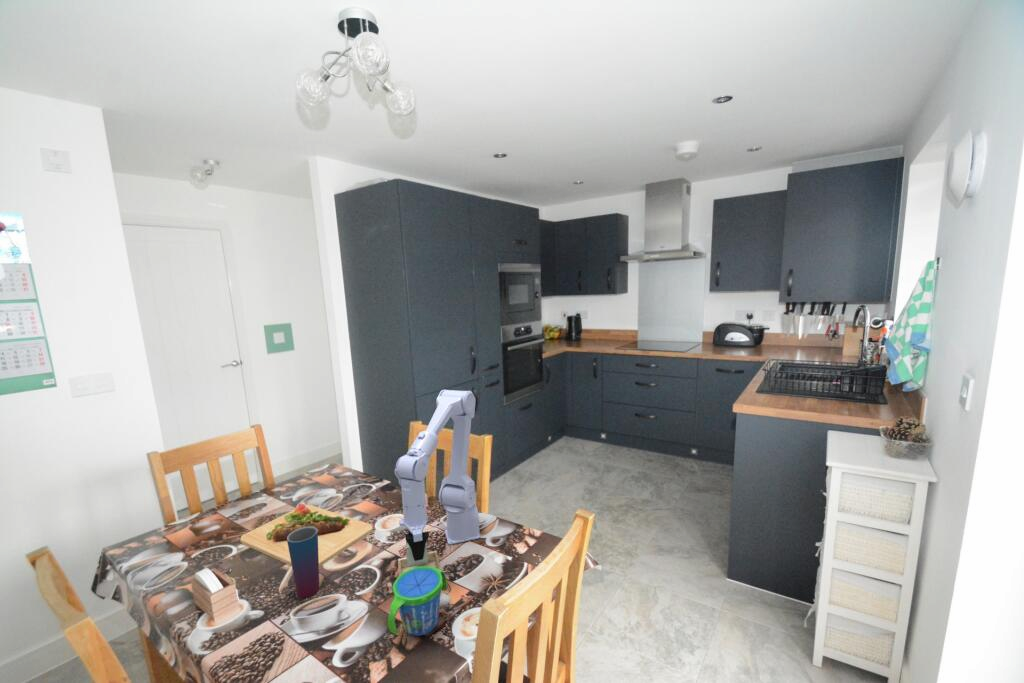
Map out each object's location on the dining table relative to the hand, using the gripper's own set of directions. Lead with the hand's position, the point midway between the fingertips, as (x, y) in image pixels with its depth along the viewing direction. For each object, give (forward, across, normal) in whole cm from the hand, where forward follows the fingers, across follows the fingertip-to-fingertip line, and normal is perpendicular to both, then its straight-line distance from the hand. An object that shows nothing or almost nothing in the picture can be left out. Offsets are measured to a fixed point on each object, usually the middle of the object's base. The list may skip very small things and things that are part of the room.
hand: (417, 552), depth 106 cm
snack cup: (+7, +16, -1) cm, 17 cm away
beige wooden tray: (+7, 0, 0) cm, 7 cm away
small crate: (+2, 0, 0) cm, 2 cm away
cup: (+7, -5, -27) cm, 28 cm away
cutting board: (+8, -33, -32) cm, 46 cm away
